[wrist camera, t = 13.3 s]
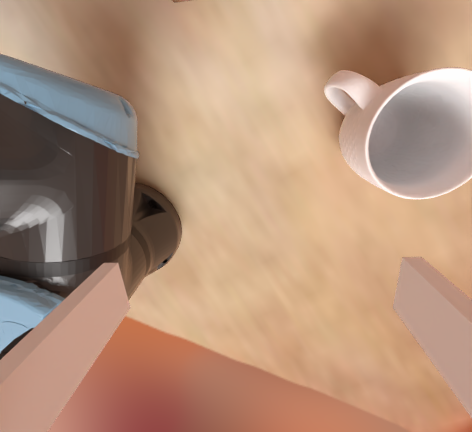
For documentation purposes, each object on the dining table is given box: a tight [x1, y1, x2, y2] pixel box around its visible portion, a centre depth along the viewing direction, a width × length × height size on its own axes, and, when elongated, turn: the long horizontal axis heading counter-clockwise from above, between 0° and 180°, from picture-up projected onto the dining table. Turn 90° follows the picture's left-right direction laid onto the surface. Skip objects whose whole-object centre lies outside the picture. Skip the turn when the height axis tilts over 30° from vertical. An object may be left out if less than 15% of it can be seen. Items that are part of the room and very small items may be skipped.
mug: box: [324, 67, 472, 199], centre depth 27 cm, size 15×11×13 cm
